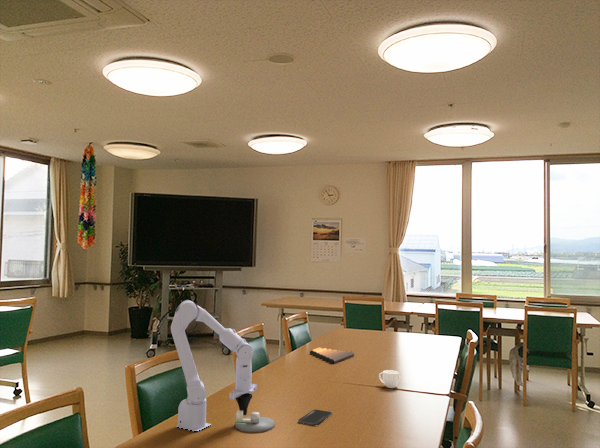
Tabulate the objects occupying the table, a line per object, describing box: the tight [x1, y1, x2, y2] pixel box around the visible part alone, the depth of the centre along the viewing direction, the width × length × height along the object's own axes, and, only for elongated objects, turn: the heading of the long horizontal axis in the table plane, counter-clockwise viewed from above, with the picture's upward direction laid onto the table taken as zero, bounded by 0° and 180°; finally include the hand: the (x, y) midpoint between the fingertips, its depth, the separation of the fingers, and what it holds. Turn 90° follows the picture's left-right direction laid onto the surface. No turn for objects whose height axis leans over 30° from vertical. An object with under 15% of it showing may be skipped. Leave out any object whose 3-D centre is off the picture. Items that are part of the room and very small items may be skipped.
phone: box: [297, 409, 333, 426], centre depth 187 cm, size 8×1×15 cm
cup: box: [378, 369, 401, 389], centre depth 233 cm, size 8×10×7 cm
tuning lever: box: [235, 409, 260, 423], centre depth 179 cm, size 8×3×4 cm, turn 86°
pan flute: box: [309, 346, 355, 365], centre depth 294 cm, size 25×3×25 cm
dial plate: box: [234, 415, 276, 433], centre depth 178 cm, size 14×14×1 cm
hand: (243, 414), depth 181 cm, fingers closed
